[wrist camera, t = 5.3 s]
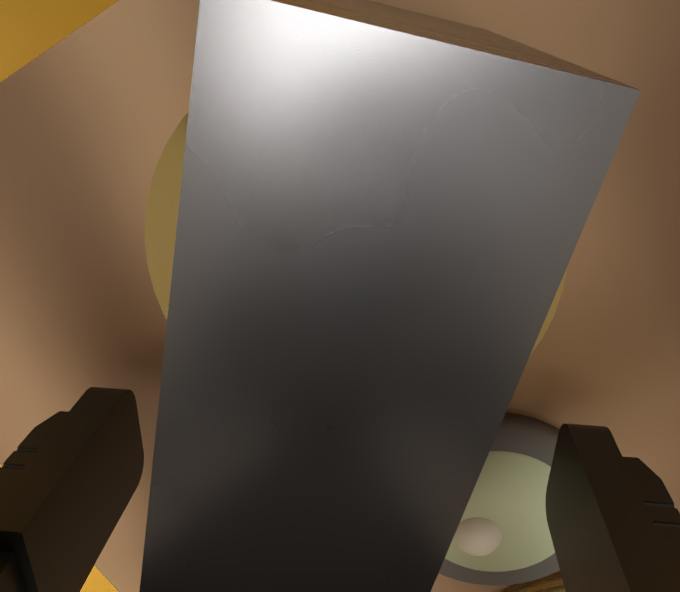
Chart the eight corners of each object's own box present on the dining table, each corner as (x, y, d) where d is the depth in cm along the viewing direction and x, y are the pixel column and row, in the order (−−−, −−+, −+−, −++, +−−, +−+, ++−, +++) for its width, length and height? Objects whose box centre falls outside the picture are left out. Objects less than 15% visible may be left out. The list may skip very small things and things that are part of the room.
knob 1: (181, -46, 10) (-336, -146, 3) (641, 65, 10) (1168, 219, 3) (143, 388, 14) (-123, 781, 7) (475, 466, 15) (543, 937, 7)
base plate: (828, -455, 9) (1017, -656, 6) (1020, 643, 18) (1133, 762, 15) (-142, 205, 15) (-264, 250, 13) (352, 775, 24) (345, 876, 21)
